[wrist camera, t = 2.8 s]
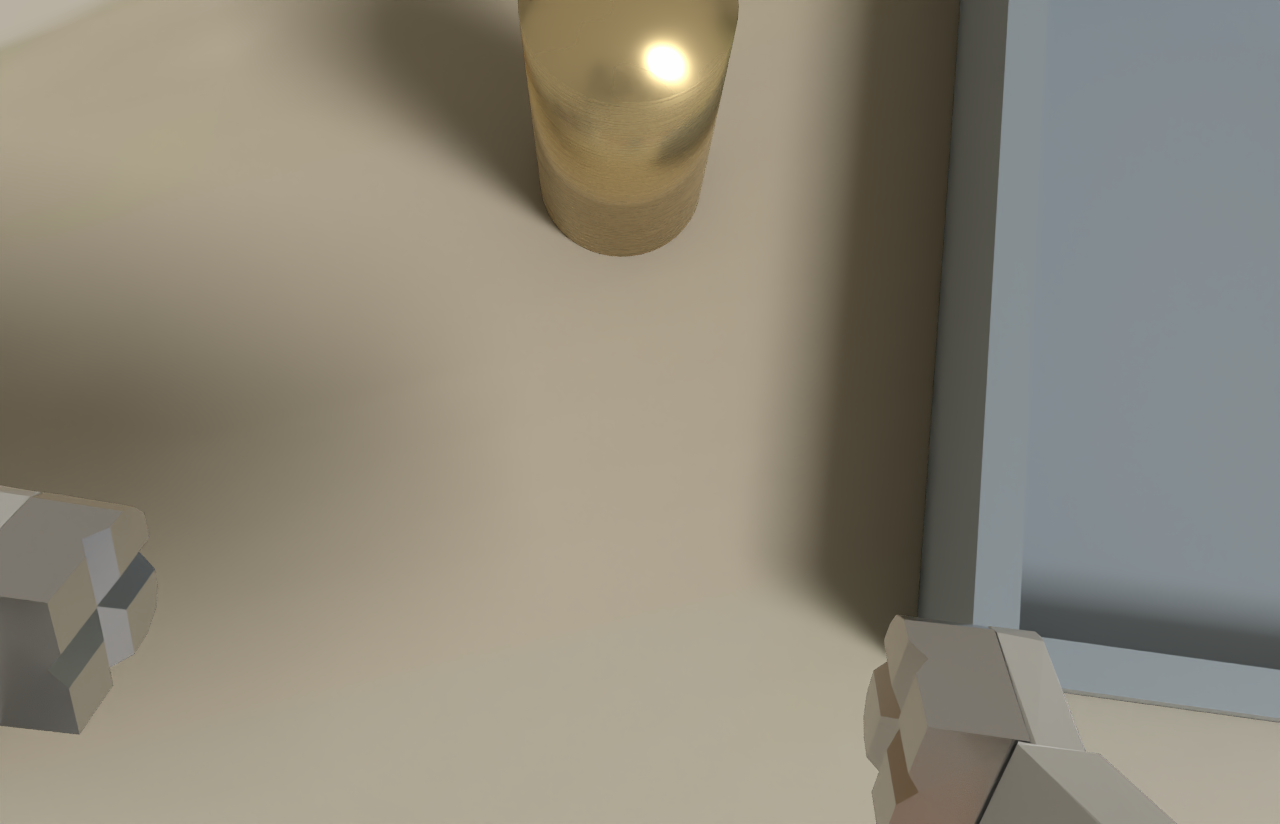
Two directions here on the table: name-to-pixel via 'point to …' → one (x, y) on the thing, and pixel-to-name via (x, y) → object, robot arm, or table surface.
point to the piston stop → (624, 112)
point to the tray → (1114, 347)
